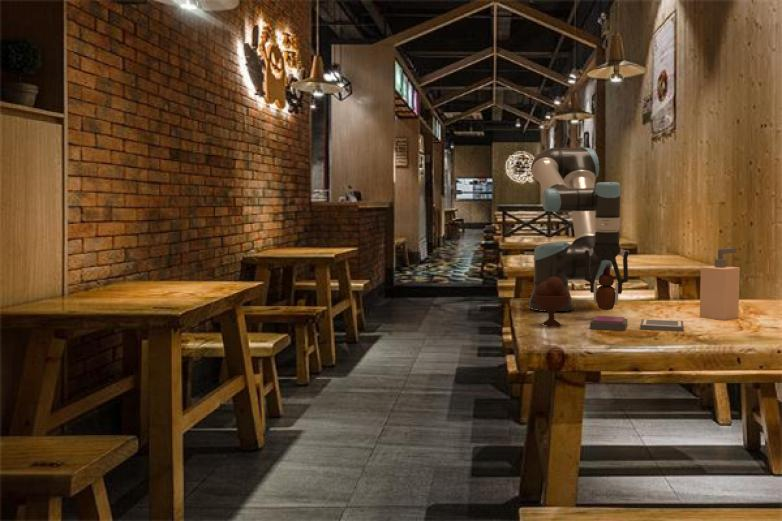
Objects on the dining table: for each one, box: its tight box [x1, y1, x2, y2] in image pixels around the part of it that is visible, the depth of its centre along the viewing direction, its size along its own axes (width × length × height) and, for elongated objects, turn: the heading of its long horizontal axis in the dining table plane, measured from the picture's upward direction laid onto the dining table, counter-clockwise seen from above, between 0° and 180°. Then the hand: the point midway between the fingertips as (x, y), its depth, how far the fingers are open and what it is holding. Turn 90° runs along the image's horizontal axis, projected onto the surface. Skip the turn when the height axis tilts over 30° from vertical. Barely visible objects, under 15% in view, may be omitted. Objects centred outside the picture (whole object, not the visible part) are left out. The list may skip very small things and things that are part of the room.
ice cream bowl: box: [533, 277, 571, 327], centre depth 234 cm, size 11×11×15 cm
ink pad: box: [589, 315, 628, 332], centre depth 230 cm, size 10×10×3 cm
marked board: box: [639, 318, 685, 332], centre depth 229 cm, size 12×12×1 cm
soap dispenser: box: [699, 247, 741, 321], centre depth 247 cm, size 13×9×22 cm
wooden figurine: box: [596, 263, 615, 311], centre depth 243 cm, size 7×6×15 cm
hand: (605, 303), depth 244 cm, fingers closed on wooden figurine, 6 cm apart
